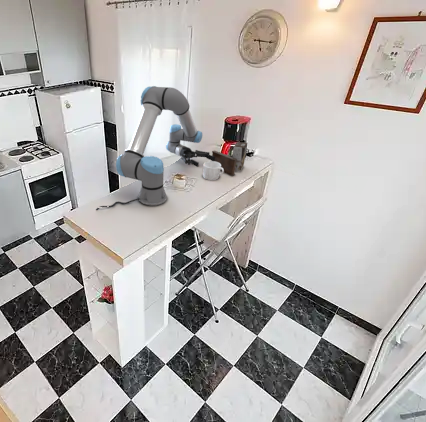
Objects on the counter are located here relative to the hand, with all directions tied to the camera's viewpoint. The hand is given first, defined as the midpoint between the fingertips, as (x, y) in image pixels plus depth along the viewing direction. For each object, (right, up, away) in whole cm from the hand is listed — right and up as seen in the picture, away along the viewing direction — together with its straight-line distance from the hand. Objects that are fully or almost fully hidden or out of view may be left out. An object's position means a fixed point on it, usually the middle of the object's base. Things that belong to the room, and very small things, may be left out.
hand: (206, 161), depth 180 cm
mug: (+4, -10, -1) cm, 10 cm away
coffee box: (+22, -3, +7) cm, 23 cm away
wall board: (+12, -5, +6) cm, 14 cm away
